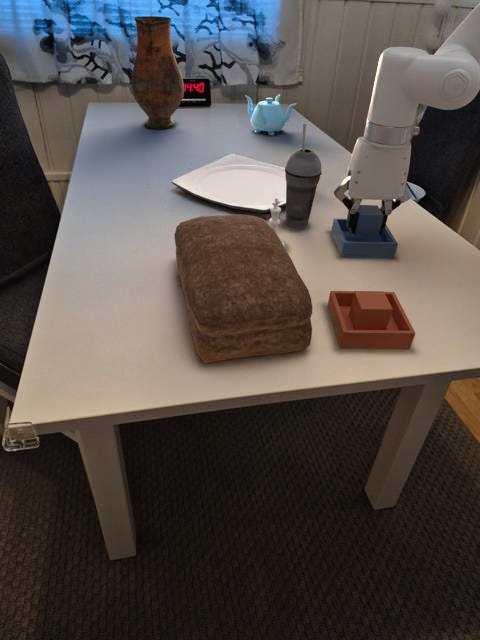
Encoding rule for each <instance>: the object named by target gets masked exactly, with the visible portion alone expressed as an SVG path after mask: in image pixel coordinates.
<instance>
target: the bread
mask: <svg viewBox="0 0 480 640" xmlns="http://www.w3.org/2000/svg"><path fill="white" fill-rule="evenodd" d="M173 238H174V243H175V260H176V263H177V268H178V273H179V277H180V285H181V289H182V291H183V294H184V299H185V304H186V305H185V306H186V312H187V313H186V314H187V317H188V323H189V326H190V327H189V328H190V331H191V336H192V339H193V344H194V348H195V352H196V355H198V356H199V357H200V358H201V359H202V361H203V363H213V362H220V361H226V360H233V359H239V358H247V357H253V356H255V357H257V356H265V355H275V354H286V353H293V352H297V351H301V350H305V349H307V348H309V346H311V343H312V336H313V325H312V320H311V318H312V315H313V301H312V297H311V294H310V291H309V289H308V287H307V285H306V284H305V282H304V280H303V279H302V277H301V276H300V274H299V272H298V270H297V267H296V266H295V263H294V261H293V259H292V257H291V256H290V255H289V253H288V252H287V250H286V247H285V248H284V246H283V244H282V242H283V241H282V240H281V239H280V237H279V236H278V233H277V234H276V233H275V232H274V230H273V229H272V228H271V225H270V224H269V223H268V222H267V221H266V220H265V219H264V218H262V217H259V216H256V215H252V214H244V213H243V214H241V213H240V214H229V215H228V214H226V215H206V216H205V215H201V216H198V217H194V218H191V219H186V220H184V221H181V222H180V223H179V224H177V225H176V227H175V231H174V237H173ZM281 241H282V242H281Z"/></svg>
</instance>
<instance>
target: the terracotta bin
mask: <svg viewBox="0 0 480 640" xmlns="http://www.w3.org/2000/svg"><path fill="white" fill-rule="evenodd" d="M354 291H355V290H330V292H329V295H328V300H327V306H326V307H327V310H328V314H329V317H330V320H331V324H332V327H333V331H334V333H335V337H336V340H337V343H338V346H339V349H341V350H346V349H347V350H406V351H407V350H411V347H412V345H413V342H414V339H415V336H416V331H415V330H414V328H413V326H412V323H411V322H410V319H409V318H408V316H407V314H406V312H405V310H404V308H403V306H402V304H401V302H400V300H399V299H398V296H397V294H396V293H395V291H384V292H385V294H386V296H387V299H388V301H389V303H390V305H391V307H392V309H393V310H392V313H391V316H390V320H389V323H388V326H387V329H386V330H354V327H353V325H352V322H351V319H350V316H349V312H350V308H351V304H352V299H353V295H354Z"/></svg>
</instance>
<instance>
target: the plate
mask: <svg viewBox="0 0 480 640" xmlns="http://www.w3.org/2000/svg"><path fill="white" fill-rule="evenodd" d="M285 168H286V167H283V166H280V165H275V164H272V163H269V162H265V161H260V160H257V159H254V158H252V157H251V158H250V157H247V156H243V155H240V154H238V153H230V154H228V155H226V156H223V157H221V158H219V159H216V160H214V161H212V162H210V163H208V164H205V165H203V166H201V167H198V168H196V169H194V170H192V171H190V172H188V173H185V174H184V175H180V176H179V177H176V178H173V179H172V180H171V184H172V185H174V186H175V187H177V188H179V189H181V190H183V191H184V192H186V193H188V194H190V195H192V196H194V197H195V198H198V199H201V200H204V201H207V202H209V203H210V202H211V203H213V204H217V205H220V206H223V207H225V208H226V207H227V208H230V209H234V210H241V211H246V212H252V213H259V214H266V213H269V212H271V211H270V208H271V207H273V205H272V203H273V202H275V198H278V200H279V201H280V204H278V207H280V208H283V207H286V177H285V173H286V172H285Z"/></svg>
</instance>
